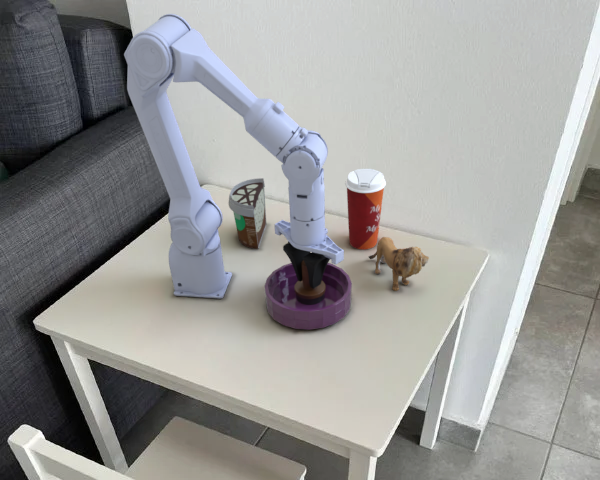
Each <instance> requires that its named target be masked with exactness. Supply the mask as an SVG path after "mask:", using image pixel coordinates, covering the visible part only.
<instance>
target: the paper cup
mask: <svg viewBox="0 0 600 480" xmlns="http://www.w3.org/2000/svg"><path fill="white" fill-rule="evenodd" d="M344 185H345V187H346V196H347V198H346V199H347V221H348V223H347V225H348V239H349V240H348V241H349V244H350V246H351V247H353V248H355V249H357V250H370V249H372V248H374V247H375V246H377V245H378V237H379V231H380V223H381V214H382V208H383V207H382V206H383V200H384V199H383V198H384V192H385V191H384V190H385V187H386V186H387V182H386V179H385V175H384V173H382V172H381V171H379V170H377V169H373V168H358V169H355V170H352V171H350V172H349V173H348V174H347V178H346V180H345V182H344Z"/></svg>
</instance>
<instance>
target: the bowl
mask: <svg viewBox="0 0 600 480" xmlns="http://www.w3.org/2000/svg"><path fill="white" fill-rule="evenodd" d="M322 281H323V282H324V283H325V286H326V290H325V296H324V299H323V300H322V301H321V302H319V303H317V304H313V305H306V304H302V303H300V302H299V301H298V300H297V298H296V293H295V289H294V286H295V284H296V282H298V279H297V276H296V273H295V270H294V268H293V265H292V263H291V262H290V263H287V264H283V265H281V266H280V267H277V269H274V270H273V271H272V272H271V273H270V274H269V275H268V276H267V277H266V280H265V283H264V297H265V306H266V311H267V313H268V314H269V315H270V317H271V318H272V319H273V320H274V321H276V322H277V323H279V324H280V325H282V326H285V327H289V328H291V329H295V330H308V331H310V330H317V329H323V328H326V327H329V326H331V325H334V324H337V323H338V322H339V321H341V320H342V319H344V318H345V317H346V315H347V314H348V313H349V311H350V310H351V305H352V296H353V295H352V291H353V289H352V288H353V283H352V280H351V276H350V275H349V274H348V273H347V272H346V271H345V270H344V269H343V268H342V267H340V266H337V265H335V264H333V263H332V262H331V263H330V262H328V264H327V266H326V268H325V271H324V274H323V277H322Z"/></svg>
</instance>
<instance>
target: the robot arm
mask: <svg viewBox="0 0 600 480" xmlns="http://www.w3.org/2000/svg"><path fill="white" fill-rule="evenodd" d="M123 56H124V59H125V61H126V64H127V73H126V74H127V75H126V76H127V78H126V80H127V81H126V90H127V94H128V96H129V99H130V101H131V104H132V106H133V109H134V111H135V114H136V116H137V119H138V121H139V124H140V126H141V129H142V131H143V134H144V136H145V139H146V142H147V144H148V146H149V149H150V151H151V154H152V156H153V159H154V162H155V164H156V166H157V170H158V171H159V175H160V177H161V180H162V182H163V185H164V186H165V190H166V192H167V194H168V197H169V200H170V201H169V206H168V207H169V208H168V215H167V220H168V222H169V225H170V239H171V243H170V246H169V249H168V267H169V271H170V275H171V280H172V285H173V290H174V291H173V295H174V296H175V297H177V296H178V297H191V298H192V297H193V298H205V299H223V298H224V296H225V295H226V291H227V289H228V287H229V284H230V281H231V279H232V276H233V273H232V271H225V263H224V258H223V257H224V256H223V251H222V250H223V249H222V245H221V238H220V236H219V235H220V234H219V228H220V227H221V225H223V220H224V218H223V217H224V216H223V212H222V210H221V208H220V207H219V206H218V204H217V203H216V202H215V201H214V199H213V197H212V195H211V192H210V190H208V189H206V188H203V187H202V186H201V185H200V182H199V179H198V177H197V174H196V171H195V168H194V166H193V163H192V160H191V157H190V154H189V152H188V149H187V146H186V142H185V141H184V137H183V134H182V132H181V129H180V126H179V124H178V120H177V118H176V115H175V113H174V109H173V107H172V104H171V101H170V99H169V96H168V93H167V92H168V88H169V86H170V84H171V83H172V82H173V83H199V84H201V85H202V86H203V87H204V88H205V89H206V90H207V91H210V92H211V93H212V94H213V95H214V96H215V97H217V98H218V99H219V100H220V101H222V102H224V103H225V104H226V106H228V107H230V108H231V110H234V112H236V113H237V114H238V115H239V116H241V117H242V119H243V123H244V128H245V131H246V132H247V133H248V134H249V135H250V136H252V138H253V139H254V140H256V141H257V142H258V143H259V144H260V146H262V147H263V148H264V149H265V150H267V151H268V153H270V154H271V155H272V156H273V157H275V159H277V160H278V161H279V162H281V163H282V164H281V170H282V173H283V175H284V176H285V178H286V179H287V180H288V188H287V189H288V204H289V221H286V220H284V219H281V220H279V221H277V222H275V223H274V224H273V225H274V234H275V235H276V236H281V235H282V236H283V237H284V238H285V239H286V240H287V243H285V244H284V245H283V246H282V251H283V252H284V253H285V254H286V256H287V257H288V259H289V261H290V263H292V265H293V268H294V270H295V273H296V276H297V279H298V281H300V282H301V281H302V261H303V260H304V262H305V264H306V267H307V270H308V276H309V284H310V287H311V288H313V289H314V288H315V287H317V286H319V285H320V284H321V281H322V277H323V274H324V271H325V268H326V266H327V264H328V263H330V260H331V264H333V265H335V266H337V265H338V264H340V263H341V262H343V261H344V258H345V253H344V252H345V251H344V249H342V248H341V247H340V246H338V245H337V244H336V243H335V242H334V241H333V239H331V238H330V236H329V235H328V232H329V230H328V228H327V227H326V216H325V215H326V213H325V212H326V210H325V209H326V199H325V198H326V196H325V191H326V189H325V169H324V168H323V166H324V165H325V164H326V161H327V158H328V153H329V148H328V144H327V142H326V141H325V139H324V138H323V137H322V135H321V134H320V133H319V132H317V131H315V130H312V129H307V128H306V127H302V126H300V125H299V124H298V122H296V121H295V120H294V119H293V118H292V117H291V116H290V115H288V113H286V112H285V111H284V109H285V105H283V104H282V103H281V102H280V101H277V102H275V101H274V100H273V99H272V98H268V97H267V98H265V97H264V98H261V97H258V96H257V95H255V94H254V92H253V91H251V89H250V88H249V87H247V86H246V84H245V83H244V82H243V81H242V80H241V79H240V78H239V77H238V76H237V75H236V74H235V73H234V72H233V71H232V70H231V68H229V66H227V65H226V64H225V63H224V62H223V60H222V59H221V58H219V56H218V55H216V53H215V52H214V51H213V50H212V49H211V48H210V47H209V45H208V42H207V41H206V39H205V38H204V37H203V35H202V33H201V32H199V31H198V30H197V29H196V28H194V27H191V25H190V23H189V22H188V21H187V20H186V19H185V18H184V17H182V16H181V15H178V14H176V13H166V14H163V15H161V16H160V17H159V19H158V20H157V21H155V22H153V23H152V24H151V25H149V26H147V28H145V29H144V30H142V31H140V32H138V33H135V34H134V36H133V37H132V38H131V39H130V42H129V44H128V45H127V48H126V50H125V51H124V53H123Z"/></svg>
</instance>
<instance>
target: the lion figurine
mask: <svg viewBox="0 0 600 480" xmlns="http://www.w3.org/2000/svg"><path fill="white" fill-rule="evenodd" d="M375 258H376V261H375V269H374V274H375V275H380V274H381V273H382V270H381V267H380V266H381V263H382V264H386V266H388V268H390V269H391V270H392V271H391V272H392V288H391V289H392V290H393V291H394V292H397V291H399V290H400V287H399V277H401V280H400V281H401V284H402V285H404V286H408V285H410V281H409V280H407V278H408V279H409V278H410V277H412V276H414V275H417V274H419V273H420V272H421V271H422V270H423V268H425V266H426V265H427V264H428V262H429V259H430V257H429V256H427V255H425V254H424V253H423V252H422V249H421V247H418V246H409V247H406V248H397V247H396V246H395V243H394V240H393V239H392V238H390V237H387V236H383V237H381V238H380V239H379V240H378V241H377V244H376V251H375V252H374V254H372V255H371V254H370V255H369V256H368V259H369V260H373V259H375Z"/></svg>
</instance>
